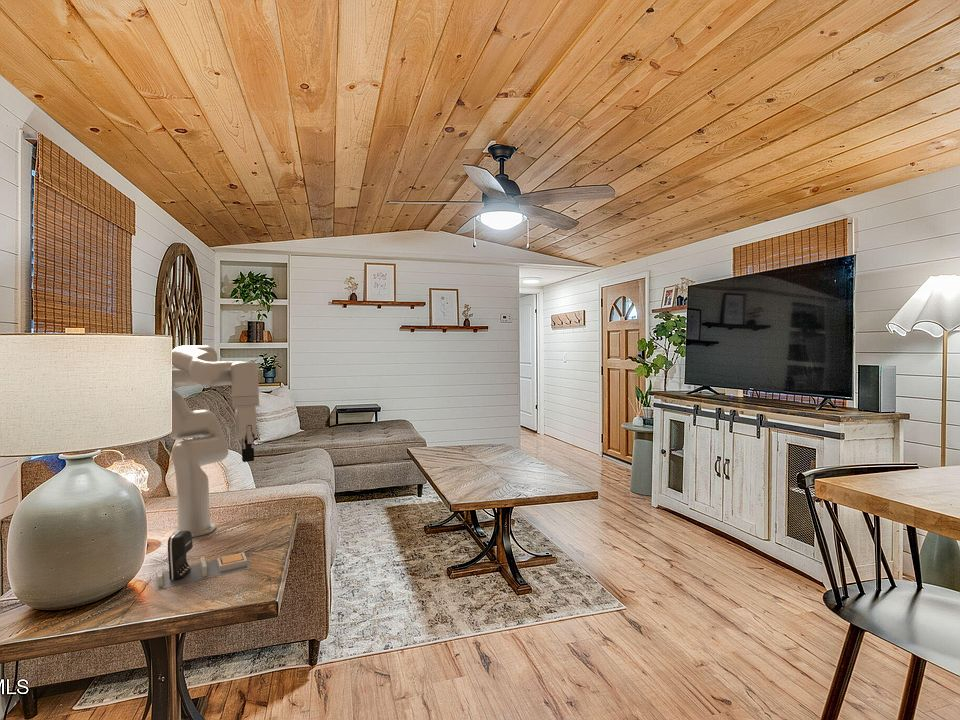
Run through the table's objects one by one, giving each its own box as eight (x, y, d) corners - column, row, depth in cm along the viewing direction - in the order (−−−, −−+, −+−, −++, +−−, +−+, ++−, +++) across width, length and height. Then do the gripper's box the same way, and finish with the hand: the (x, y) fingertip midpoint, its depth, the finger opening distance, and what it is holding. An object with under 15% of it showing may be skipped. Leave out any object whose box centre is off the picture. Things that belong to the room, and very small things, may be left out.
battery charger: (184, 580, 133) (182, 537, 133) (168, 581, 132) (166, 538, 132) (195, 569, 140) (193, 527, 140) (180, 570, 139) (178, 528, 139)
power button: (221, 561, 143) (221, 557, 143) (240, 557, 146) (240, 553, 146) (223, 567, 139) (222, 563, 139) (243, 563, 142) (242, 559, 142)
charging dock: (156, 578, 138) (155, 564, 138) (245, 558, 150) (244, 545, 150) (155, 596, 128) (155, 580, 128) (251, 573, 139) (250, 559, 139)
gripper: (229, 401, 161) (231, 458, 162) (235, 404, 149) (238, 467, 149) (255, 399, 165) (257, 455, 166) (263, 402, 153) (265, 463, 153)
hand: (248, 460), depth 157 cm, fingers closed
